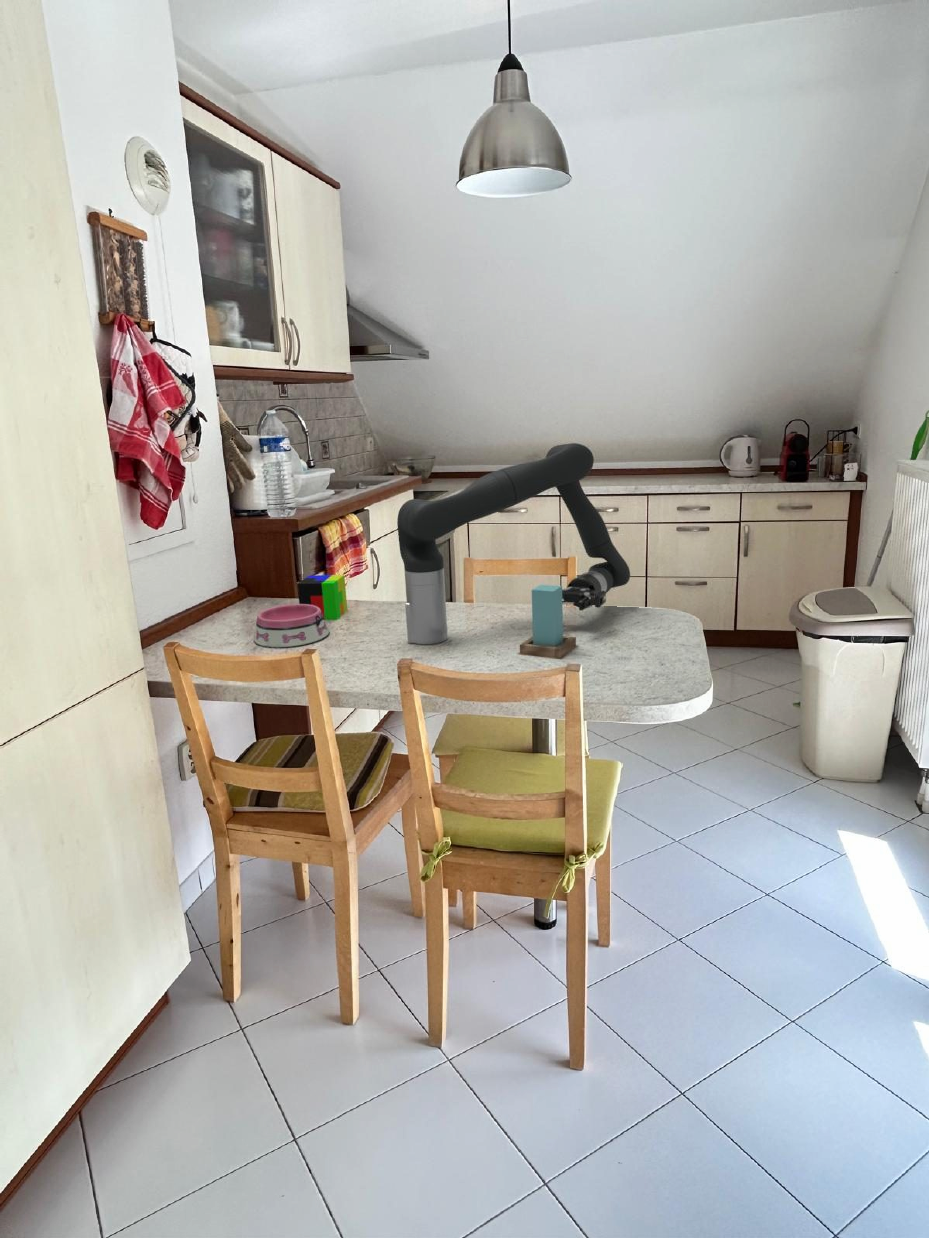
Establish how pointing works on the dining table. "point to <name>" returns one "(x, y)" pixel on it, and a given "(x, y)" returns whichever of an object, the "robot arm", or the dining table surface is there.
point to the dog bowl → (290, 626)
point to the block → (547, 615)
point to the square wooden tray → (548, 648)
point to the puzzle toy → (324, 594)
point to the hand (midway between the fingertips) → (562, 604)
